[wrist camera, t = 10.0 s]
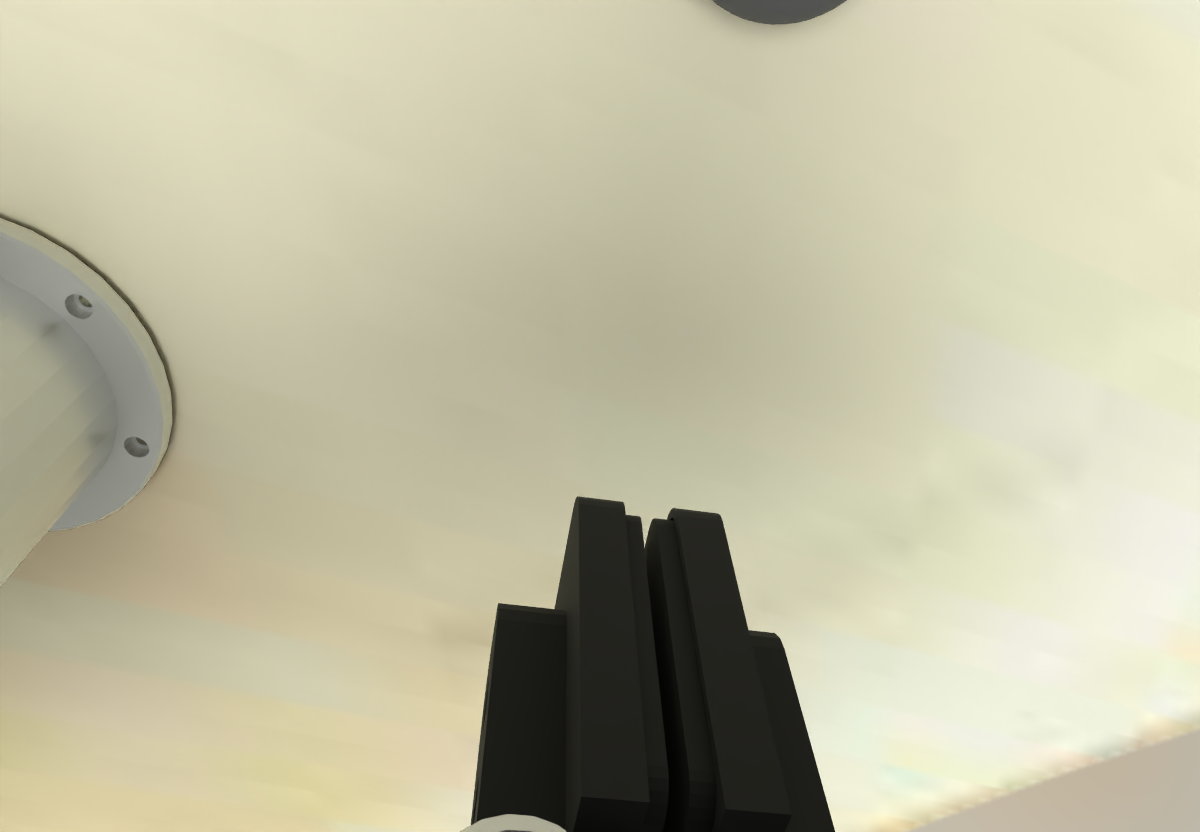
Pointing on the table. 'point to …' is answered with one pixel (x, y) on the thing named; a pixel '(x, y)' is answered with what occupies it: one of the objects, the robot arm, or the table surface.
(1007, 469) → the table surface
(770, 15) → the dark grey ball
